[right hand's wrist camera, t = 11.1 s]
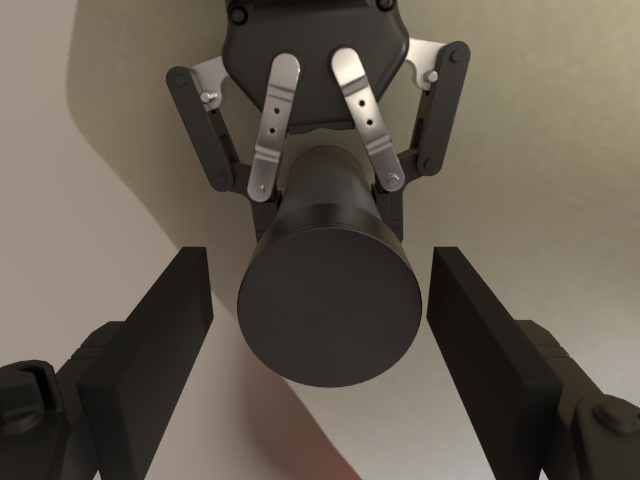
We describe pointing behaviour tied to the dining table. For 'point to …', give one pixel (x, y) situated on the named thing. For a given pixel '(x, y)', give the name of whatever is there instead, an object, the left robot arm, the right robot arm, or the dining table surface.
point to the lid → (329, 297)
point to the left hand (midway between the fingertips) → (331, 256)
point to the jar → (327, 182)
